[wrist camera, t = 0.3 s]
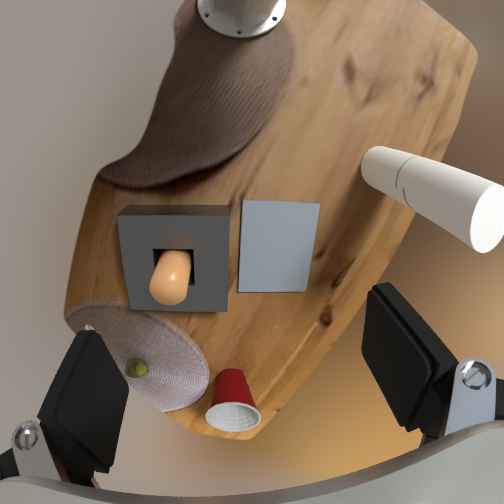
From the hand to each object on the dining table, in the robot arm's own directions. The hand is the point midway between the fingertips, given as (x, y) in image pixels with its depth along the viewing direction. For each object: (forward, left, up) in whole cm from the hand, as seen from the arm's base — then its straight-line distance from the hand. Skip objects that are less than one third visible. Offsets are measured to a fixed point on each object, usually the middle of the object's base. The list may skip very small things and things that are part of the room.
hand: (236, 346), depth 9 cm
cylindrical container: (-2, +25, -36) cm, 44 cm away
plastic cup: (+44, +2, -36) cm, 57 cm away
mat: (+13, +9, -36) cm, 39 cm away
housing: (+14, -7, -36) cm, 39 cm away
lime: (+40, -18, -36) cm, 57 cm away
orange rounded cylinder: (+14, -7, -36) cm, 39 cm away
